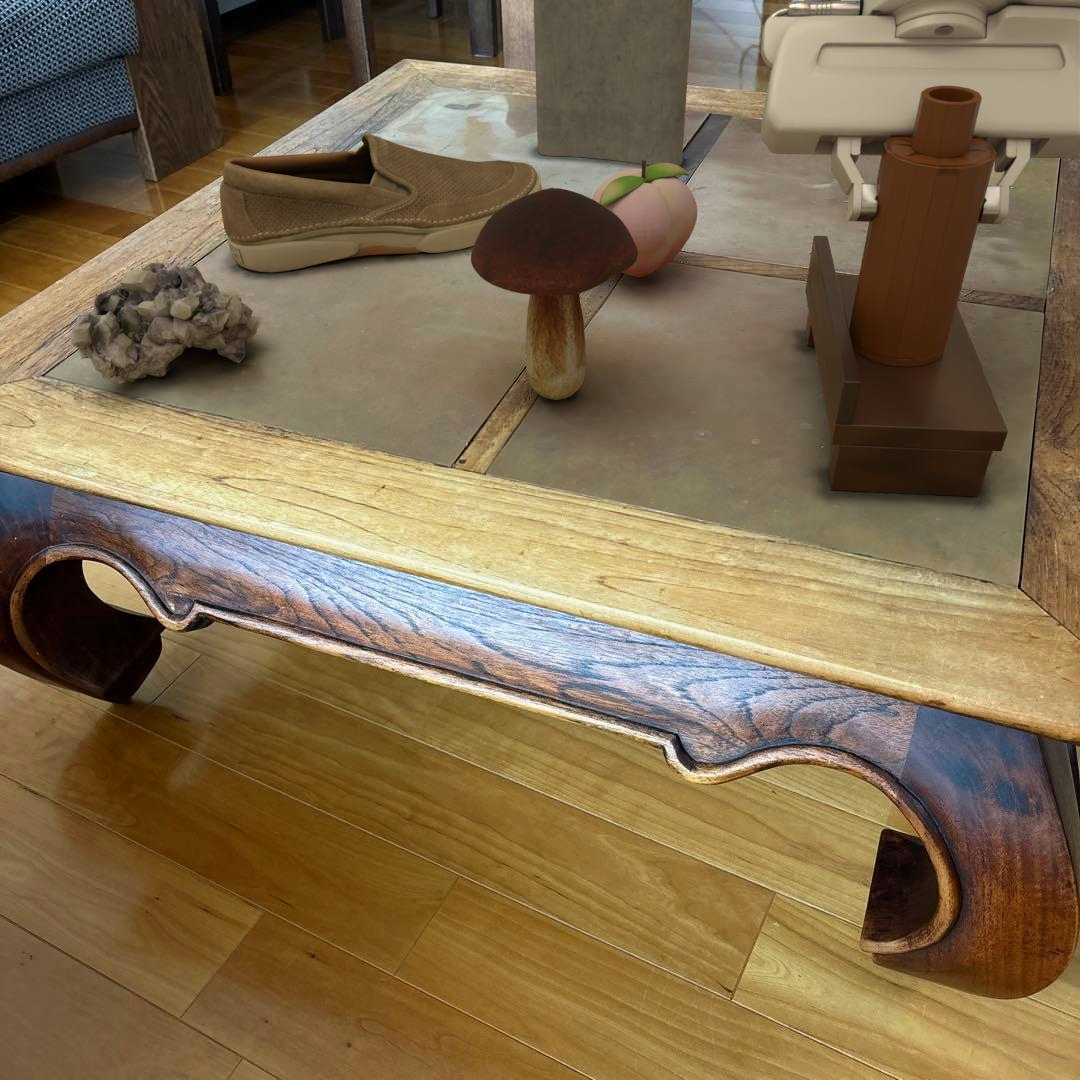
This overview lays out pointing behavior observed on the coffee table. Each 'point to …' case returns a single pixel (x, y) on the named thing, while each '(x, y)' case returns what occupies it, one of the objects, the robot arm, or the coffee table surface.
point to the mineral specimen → (161, 322)
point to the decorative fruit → (651, 212)
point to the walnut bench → (898, 402)
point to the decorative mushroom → (553, 275)
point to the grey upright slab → (612, 78)
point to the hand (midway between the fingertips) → (926, 219)
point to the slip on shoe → (361, 203)
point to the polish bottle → (922, 231)
